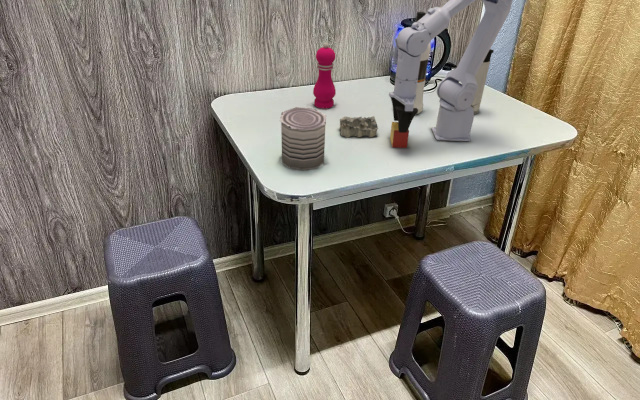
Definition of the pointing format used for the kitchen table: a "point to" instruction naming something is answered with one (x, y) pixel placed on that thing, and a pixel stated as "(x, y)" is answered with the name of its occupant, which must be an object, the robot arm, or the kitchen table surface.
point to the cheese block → (398, 137)
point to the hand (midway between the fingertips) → (400, 126)
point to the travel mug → (481, 82)
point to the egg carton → (358, 126)
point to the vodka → (421, 72)
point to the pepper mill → (324, 78)
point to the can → (303, 138)
